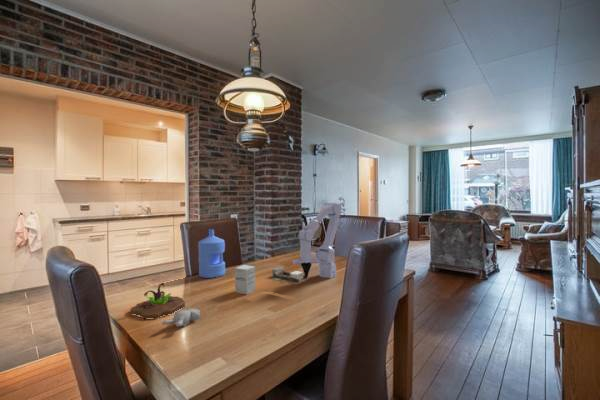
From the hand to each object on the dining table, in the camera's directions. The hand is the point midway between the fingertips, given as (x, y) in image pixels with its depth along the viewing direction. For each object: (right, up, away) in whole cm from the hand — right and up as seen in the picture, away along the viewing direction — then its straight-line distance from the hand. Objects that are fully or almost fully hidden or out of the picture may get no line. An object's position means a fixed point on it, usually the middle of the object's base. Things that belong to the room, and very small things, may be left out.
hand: (306, 276), depth 156 cm
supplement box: (-31, -5, -11) cm, 33 cm away
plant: (-65, -6, -31) cm, 72 cm away
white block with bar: (-6, -2, +2) cm, 7 cm away
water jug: (-57, -4, +20) cm, 61 cm away
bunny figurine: (-48, -6, -46) cm, 67 cm away
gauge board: (-10, -4, +6) cm, 12 cm away
